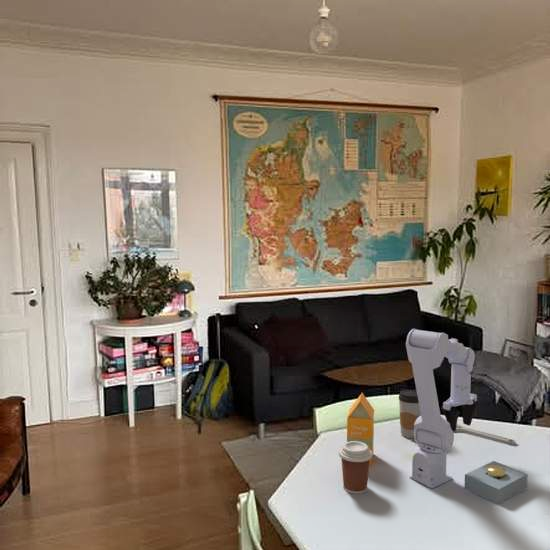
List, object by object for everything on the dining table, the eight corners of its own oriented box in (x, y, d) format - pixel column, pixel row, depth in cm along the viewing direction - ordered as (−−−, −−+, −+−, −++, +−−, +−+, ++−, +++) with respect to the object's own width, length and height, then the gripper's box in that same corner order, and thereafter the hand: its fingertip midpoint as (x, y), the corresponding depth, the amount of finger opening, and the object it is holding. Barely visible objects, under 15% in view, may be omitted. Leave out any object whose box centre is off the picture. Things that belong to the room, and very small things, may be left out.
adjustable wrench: (517, 445, 172) (517, 440, 172) (509, 451, 167) (509, 445, 167) (446, 424, 190) (447, 419, 190) (438, 429, 185) (438, 424, 185)
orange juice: (346, 463, 158) (346, 400, 156) (349, 451, 166) (349, 391, 165) (372, 466, 156) (373, 402, 154) (374, 454, 165) (374, 392, 163)
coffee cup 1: (377, 485, 145) (377, 444, 144) (363, 499, 137) (363, 456, 136) (347, 476, 150) (347, 436, 149) (332, 490, 142) (332, 448, 141)
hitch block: (498, 504, 135) (498, 489, 134) (464, 488, 143) (464, 474, 142) (526, 488, 143) (527, 474, 142) (493, 474, 151) (493, 460, 150)
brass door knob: (497, 494, 140) (498, 474, 139) (482, 486, 144) (482, 467, 143) (508, 489, 142) (509, 470, 142) (492, 482, 146) (493, 463, 146)
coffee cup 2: (425, 433, 181) (426, 391, 179) (418, 441, 174) (419, 398, 172) (402, 428, 185) (403, 387, 184) (394, 436, 178) (395, 394, 177)
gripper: (457, 392, 153) (456, 437, 154) (486, 383, 161) (484, 425, 163) (437, 386, 159) (436, 429, 160) (466, 378, 167) (464, 419, 168)
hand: (459, 427), depth 162 cm, fingers open, 7 cm apart
